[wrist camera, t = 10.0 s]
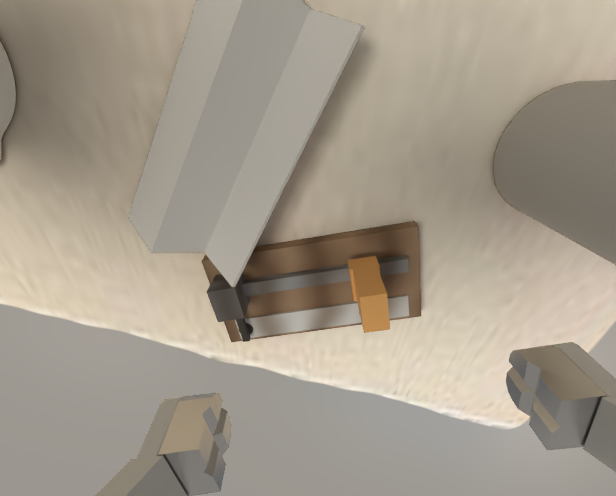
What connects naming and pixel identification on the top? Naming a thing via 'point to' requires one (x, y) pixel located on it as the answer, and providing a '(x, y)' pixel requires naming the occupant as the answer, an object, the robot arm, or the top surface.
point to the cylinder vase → (565, 163)
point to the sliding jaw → (369, 293)
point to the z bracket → (236, 124)
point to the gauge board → (315, 282)
